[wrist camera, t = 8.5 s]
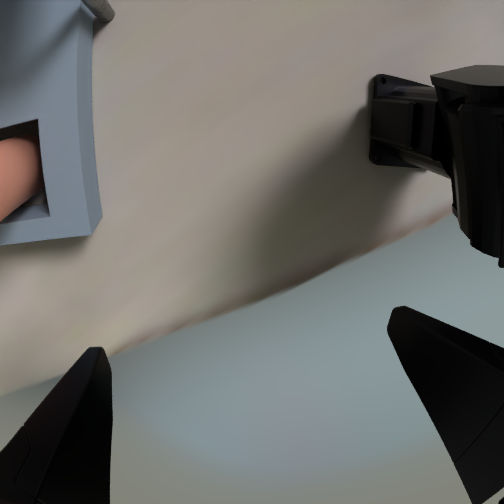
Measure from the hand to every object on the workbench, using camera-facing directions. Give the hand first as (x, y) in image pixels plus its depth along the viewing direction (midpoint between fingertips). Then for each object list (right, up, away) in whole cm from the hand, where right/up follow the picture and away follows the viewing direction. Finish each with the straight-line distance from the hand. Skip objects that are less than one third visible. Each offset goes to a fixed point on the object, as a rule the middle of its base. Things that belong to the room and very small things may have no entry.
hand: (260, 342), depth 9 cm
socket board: (-14, +12, +5) cm, 20 cm away
